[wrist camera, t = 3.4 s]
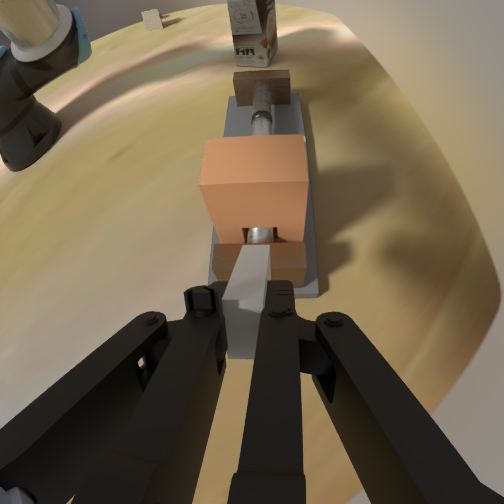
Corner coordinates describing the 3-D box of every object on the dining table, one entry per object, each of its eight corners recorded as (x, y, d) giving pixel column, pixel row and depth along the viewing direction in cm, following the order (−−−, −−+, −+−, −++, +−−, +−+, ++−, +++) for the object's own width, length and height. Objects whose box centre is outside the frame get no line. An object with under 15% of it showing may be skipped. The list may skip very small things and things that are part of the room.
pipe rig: (303, 287, 30) (306, 267, 26) (222, 288, 31) (211, 269, 26) (289, 95, 44) (289, 69, 39) (238, 97, 44) (234, 72, 40)
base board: (317, 297, 31) (318, 292, 30) (210, 298, 32) (206, 293, 31) (298, 100, 45) (298, 92, 44) (230, 103, 46) (229, 95, 45)
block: (301, 249, 31) (308, 181, 22) (223, 251, 32) (198, 185, 22) (299, 208, 34) (303, 134, 24) (226, 210, 34) (206, 138, 24)
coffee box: (268, 68, 50) (262, -7, 36) (236, 66, 52) (224, -6, 37) (278, 48, 54) (274, -18, 40) (249, 47, 55) (240, -18, 41)
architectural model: (152, 27, 70) (146, 8, 64) (172, 25, 69) (166, 4, 62) (147, 32, 69) (140, 12, 62) (167, 29, 67) (161, 8, 61)
